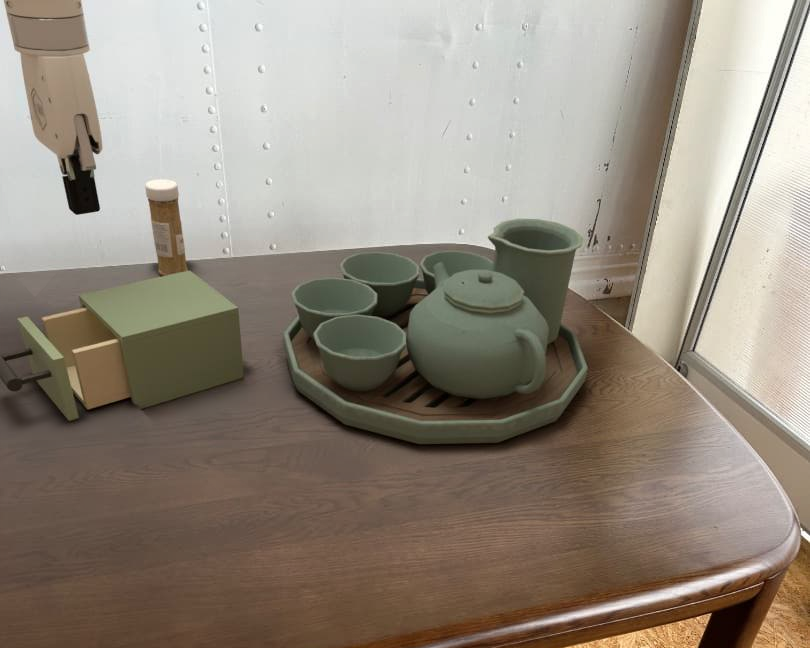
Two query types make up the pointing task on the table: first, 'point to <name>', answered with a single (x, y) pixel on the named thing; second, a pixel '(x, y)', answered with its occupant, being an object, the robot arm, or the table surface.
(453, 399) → the tea set
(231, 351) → the cabinet
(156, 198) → the sprinkles bottle
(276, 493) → the table surface
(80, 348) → the drawer
